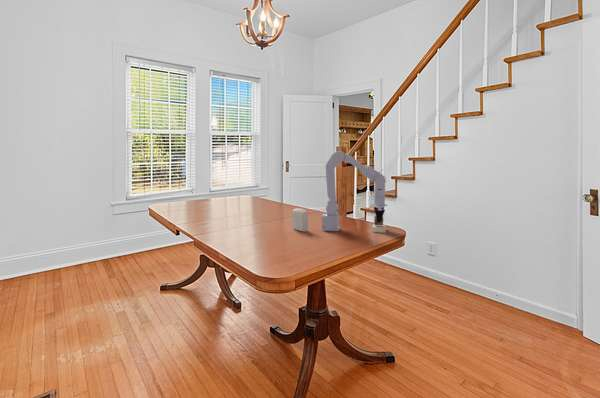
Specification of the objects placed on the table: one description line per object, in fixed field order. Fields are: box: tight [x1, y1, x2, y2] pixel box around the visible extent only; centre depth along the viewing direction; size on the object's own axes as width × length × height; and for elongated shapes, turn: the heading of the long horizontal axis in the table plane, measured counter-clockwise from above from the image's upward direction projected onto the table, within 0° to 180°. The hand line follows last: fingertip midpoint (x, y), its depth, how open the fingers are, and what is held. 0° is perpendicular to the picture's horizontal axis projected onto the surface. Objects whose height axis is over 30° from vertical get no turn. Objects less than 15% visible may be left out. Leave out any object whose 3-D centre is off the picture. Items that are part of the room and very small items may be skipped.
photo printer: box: [291, 207, 309, 233], centre depth 183 cm, size 10×4×12 cm, turn 40°
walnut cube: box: [373, 215, 384, 225], centre depth 178 cm, size 4×4×4 cm
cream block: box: [371, 223, 387, 233], centre depth 179 cm, size 7×7×3 cm
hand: (378, 221), depth 178 cm, fingers closed on walnut cube, 4 cm apart
